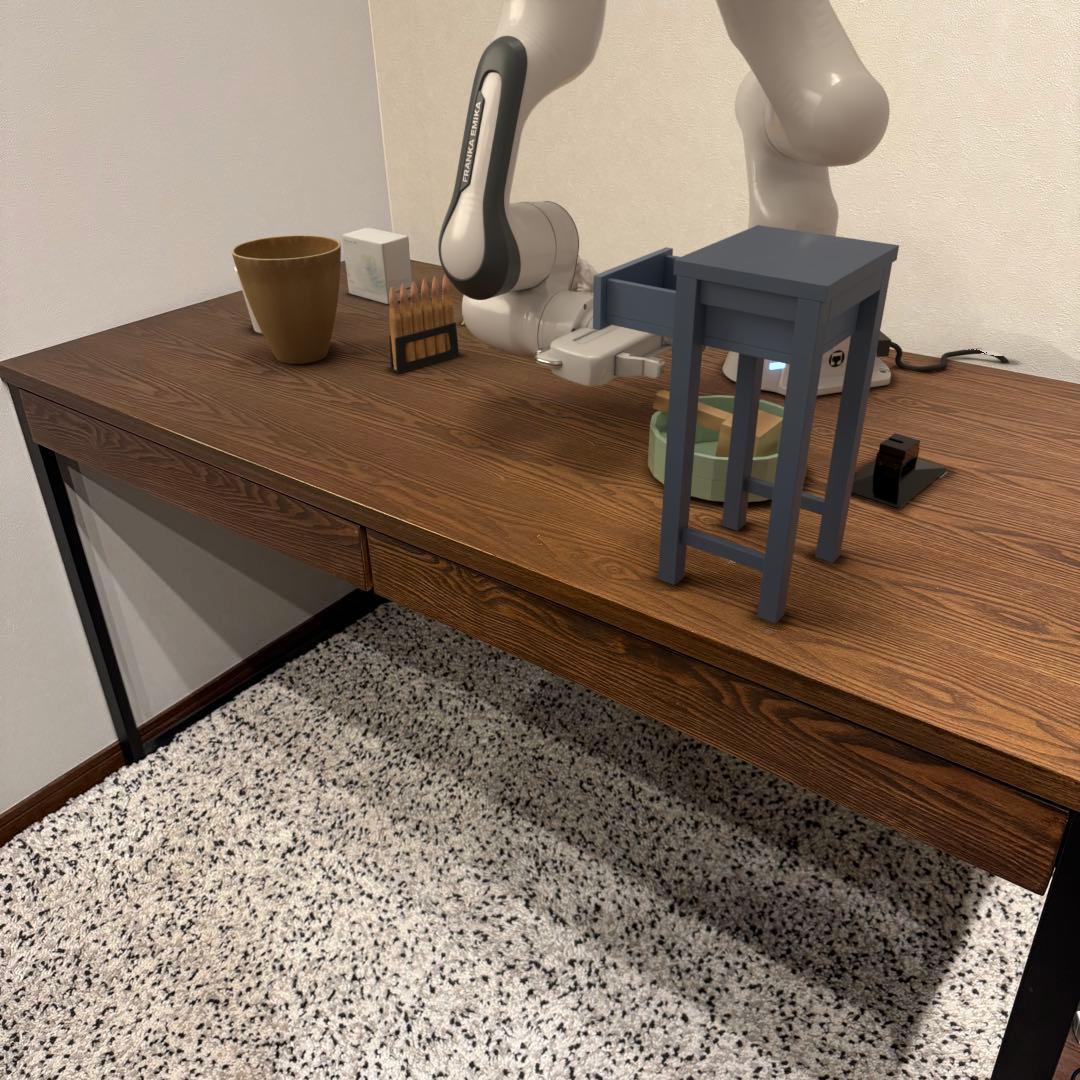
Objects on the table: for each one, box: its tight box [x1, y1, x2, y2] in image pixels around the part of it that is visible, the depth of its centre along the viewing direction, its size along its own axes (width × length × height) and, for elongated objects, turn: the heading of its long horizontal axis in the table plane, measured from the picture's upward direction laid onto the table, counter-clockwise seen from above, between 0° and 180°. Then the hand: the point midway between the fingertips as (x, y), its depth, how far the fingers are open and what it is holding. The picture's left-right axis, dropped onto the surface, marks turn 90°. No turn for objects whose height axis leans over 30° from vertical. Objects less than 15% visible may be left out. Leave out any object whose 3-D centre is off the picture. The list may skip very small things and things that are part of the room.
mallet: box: [652, 388, 783, 457], centre depth 105 cm, size 14×6×6 cm, turn 53°
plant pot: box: [230, 234, 342, 365], centre depth 136 cm, size 15×15×16 cm
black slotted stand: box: [851, 432, 948, 511], centre depth 102 cm, size 12×7×5 cm, turn 137°
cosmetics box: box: [341, 227, 413, 305], centre depth 163 cm, size 10×6×10 cm, turn 50°
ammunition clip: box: [388, 273, 460, 374], centre depth 133 cm, size 11×2×12 cm, turn 130°
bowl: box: [647, 394, 812, 503], centre depth 105 cm, size 17×17×6 cm
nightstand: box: [593, 225, 900, 624], centre depth 84 cm, size 22×14×29 cm, turn 52°
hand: (684, 356), depth 103 cm, fingers open, 8 cm apart
